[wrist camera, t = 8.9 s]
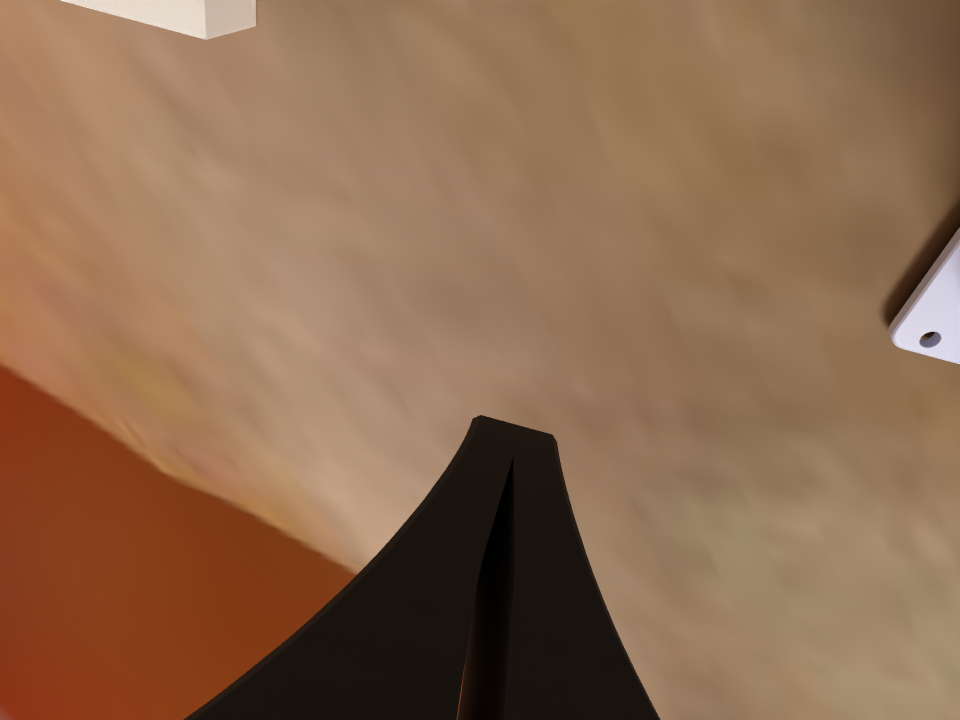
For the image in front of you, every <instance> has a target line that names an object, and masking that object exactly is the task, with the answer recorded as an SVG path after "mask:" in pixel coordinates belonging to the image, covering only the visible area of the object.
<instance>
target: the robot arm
mask: <svg viewBox="0 0 960 720" xmlns="http://www.w3.org/2000/svg"><path fill="white" fill-rule="evenodd" d="M928 332H935V333H934V335H933V336H932V337H930V338H929V339H926V340H920V338H921V337H922V336H923V335H924V334H925V333H928ZM888 336H889V337H890V338H891V340H892V341H893V343H894V344H895V345H896V346H897V347H899V348H902V349H905V350H909V351H913V352H916V353H920V354H924V355H927V356H931V357H935V358H938V359H942V360H946V361H949V362H953V363H957V364H960V227H959V229H958V230H957V232H956V233H955V234H954V236H953V237H952V239H951V240H950V241H949V243H948V244H947V246H946V247H945V248H944V250H943V251H942V253H941V254H940V255H939V257H938V258H937V260H936V261H935V262H934V264H933V265H932V267H931V268H930V269H929V271H928V272H927V274H926V275H925V276H924V278H923V279H922V281H921V282H920V283H919V285H918V286H917V288H916V289H915V290H914V292H913V293H912V295H911V296H910V297H909V299H908V300H907V302H906V303H905V304H904V306H903V307H902V309H901V310H900V311H899V313H898V314H897V316H896V317H895V318H894V320H893V321H892V323H891V324H890V326H889V329H888ZM465 658H466V659H465ZM464 665H465V667H464ZM463 671H464V676H463ZM462 678H463V685H462V694H461V700H460V706H459V713H458V719H457V712H458V705H459V698H460V691H461V684H462ZM456 719H457V720H660V718H659V716H658V714H657V712H656V710H655V709H654V707H653V705H652V703H651V701H650V699H649V697H648V695H647V693H646V691H645V689H644V687H643V685H642V683H641V681H640V679H639V677H638V675H637V673H636V671H635V669H634V667H633V665H632V663H631V661H630V659H629V657H628V655H627V652H626V650H625V648H624V646H623V644H622V642H621V640H620V637H619V635H618V633H617V631H616V628H615V626H614V624H613V622H612V619H611V617H610V614H609V612H608V610H607V607H606V605H605V602H604V600H603V597H602V595H601V592H600V590H599V587H598V584H597V582H596V579H595V577H594V574H593V571H592V569H591V566H590V563H589V560H588V557H587V555H586V552H585V549H584V545H583V542H582V539H581V536H580V533H579V530H578V527H577V524H576V521H575V518H574V514H573V511H572V507H571V504H570V500H569V496H568V492H567V489H566V485H565V481H564V476H563V472H562V468H561V463H560V458H559V452H558V446H557V441H556V440H555V438H554V436H553V435H552V434H548V433H544V432H541V431H537V430H533V429H530V428H526V427H523V426H519V425H515V424H512V423H508V422H504V421H501V420H497V419H493V418H490V417H486V416H482V415H480V416H478V417H475V418H473V419H472V422H471V425H470V428H469V430H468V432H467V434H466V437H465V439H464V440H463V442H462V444H461V446H460V448H459V449H458V451H457V453H456V454H455V456H454V458H453V459H452V461H451V462H450V464H449V465H448V467H447V469H446V470H445V471H444V473H443V474H442V476H441V477H440V478H439V480H438V481H437V482H436V484H435V485H434V487H433V488H432V489H431V491H430V492H429V493H428V495H427V496H426V498H425V499H424V500H423V501H422V503H421V504H420V505H419V506H418V508H417V509H416V510H415V511H414V512H413V514H412V515H411V516H410V517H409V518H408V520H407V521H406V522H405V523H404V524H403V525H402V527H401V528H400V529H399V530H398V531H397V533H396V534H395V535H394V536H393V537H392V538H391V540H390V541H389V542H388V543H387V544H386V545H385V546H384V547H383V548H382V549H381V551H380V552H379V553H378V554H377V555H376V556H375V557H374V558H373V559H372V560H371V561H370V562H369V563H368V564H367V565H366V566H365V567H364V568H363V569H362V570H361V571H360V572H359V573H358V574H357V575H356V576H355V577H354V578H353V580H351V581H350V583H349V584H347V586H345V587H344V588H343V589H342V590H341V591H340V592H339V593H338V594H337V595H336V596H335V597H334V598H333V599H332V600H330V601H329V602H328V603H327V604H326V605H325V606H324V607H323V608H322V609H321V610H320V611H319V612H317V613H316V614H315V615H314V616H313V617H312V618H311V619H310V620H309V621H308V622H307V623H305V624H304V625H303V626H302V627H301V628H300V629H299V630H297V631H296V632H295V633H294V634H293V635H292V636H290V637H289V638H288V639H287V640H286V641H285V642H283V643H282V644H281V645H280V646H278V647H277V648H276V649H275V650H273V651H272V652H271V653H270V654H268V655H267V656H266V657H265V658H264V659H262V660H261V661H260V662H258V663H257V664H256V665H255V666H253V667H252V668H251V669H250V670H249V671H247V672H246V673H245V674H244V675H242V676H241V677H240V678H239V679H238V680H236V681H235V682H234V683H232V684H231V685H230V686H229V687H227V688H226V689H225V690H223V691H222V692H221V693H219V694H218V695H217V696H215V697H214V698H213V699H211V700H210V701H209V702H208V703H206V704H205V705H203V706H202V707H201V708H199V709H198V710H196V711H195V712H194V713H192V714H191V715H189V716H188V717H187V718H185V719H184V720H456Z"/></svg>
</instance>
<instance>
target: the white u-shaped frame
mask: <svg viewBox="0 0 960 720" xmlns="http://www.w3.org/2000/svg"><path fill="white" fill-rule="evenodd" d="M61 1H64V2H68V3H72V4H76V5H79V6H83V7H87V8H90V9H94V10H98V11H101V12H105V13H109V14H113V15H116V16H120V17H124V18H127V19H131V20H135V21H139V22H142V23H146V24H150V25H153V26H157V27H161V28H165V29H168V30H172V31H176V32H179V33H183V34H187V35H191V36H194V37H198V38H202V39H205V40H207V39H210V38H214V37H218V36H221V35H225V34H229V33H233V32H236V31H240V30H244V29H248V28H251V27H255V26H256V0H61Z"/></svg>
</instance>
